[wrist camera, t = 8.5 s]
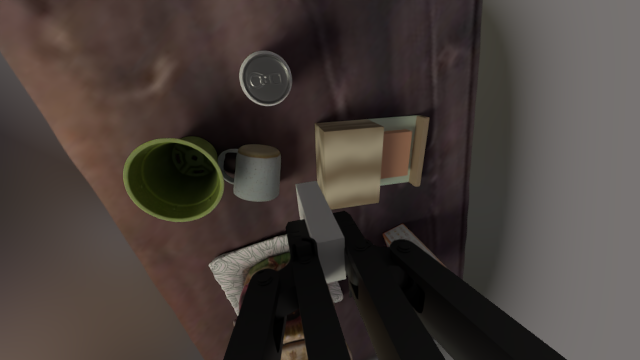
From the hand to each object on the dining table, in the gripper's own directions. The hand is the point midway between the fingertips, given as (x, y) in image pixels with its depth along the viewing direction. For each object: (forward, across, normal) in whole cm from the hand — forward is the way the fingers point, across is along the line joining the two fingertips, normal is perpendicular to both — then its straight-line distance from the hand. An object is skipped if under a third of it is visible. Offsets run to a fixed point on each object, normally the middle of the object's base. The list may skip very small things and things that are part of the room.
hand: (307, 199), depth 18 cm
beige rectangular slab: (+29, +11, -9) cm, 32 cm away
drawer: (+29, +21, -9) cm, 37 cm away
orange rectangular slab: (+26, +21, -9) cm, 35 cm away
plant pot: (+29, -15, -4) cm, 33 cm away
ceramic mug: (+29, -6, -8) cm, 30 cm away
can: (+29, -1, +7) cm, 30 cm away
